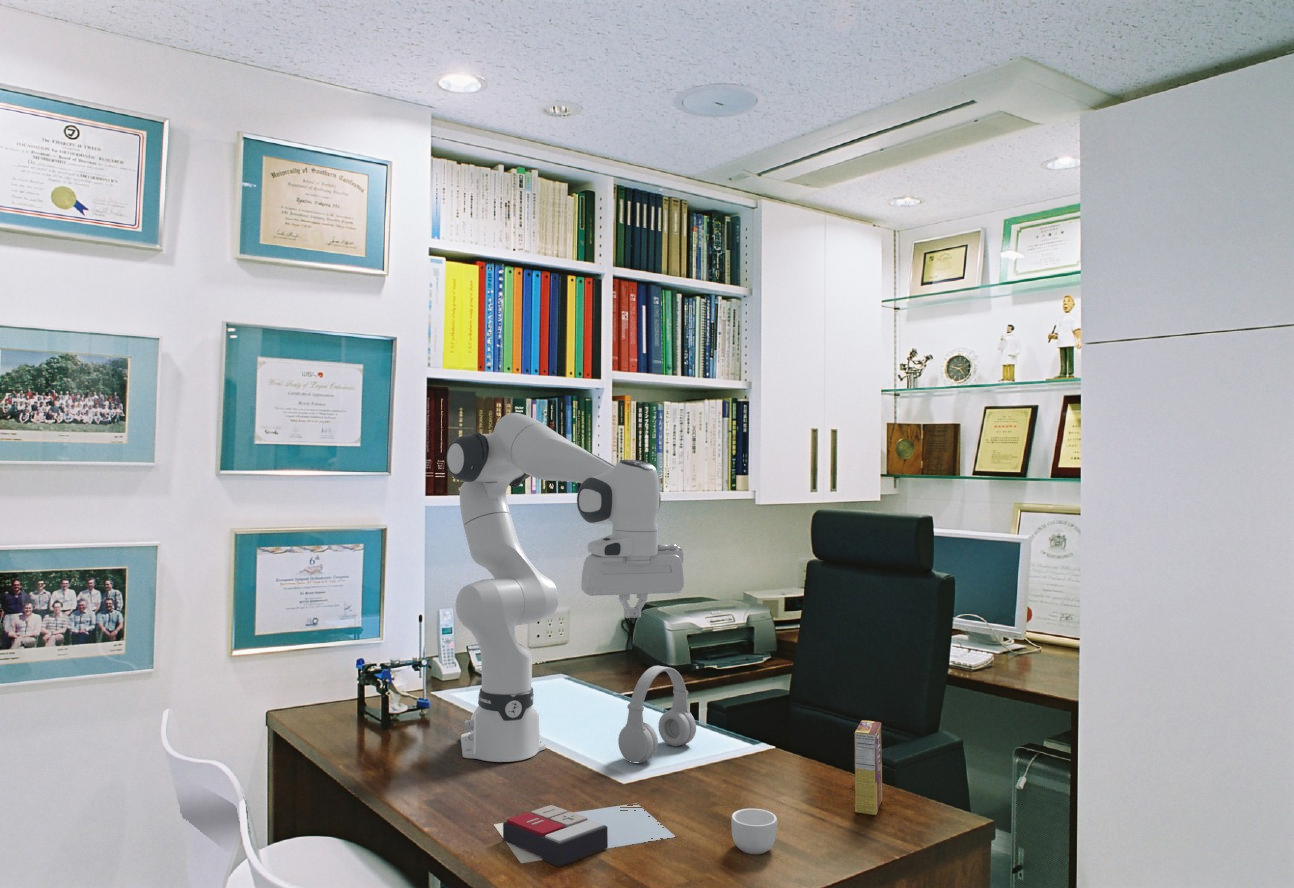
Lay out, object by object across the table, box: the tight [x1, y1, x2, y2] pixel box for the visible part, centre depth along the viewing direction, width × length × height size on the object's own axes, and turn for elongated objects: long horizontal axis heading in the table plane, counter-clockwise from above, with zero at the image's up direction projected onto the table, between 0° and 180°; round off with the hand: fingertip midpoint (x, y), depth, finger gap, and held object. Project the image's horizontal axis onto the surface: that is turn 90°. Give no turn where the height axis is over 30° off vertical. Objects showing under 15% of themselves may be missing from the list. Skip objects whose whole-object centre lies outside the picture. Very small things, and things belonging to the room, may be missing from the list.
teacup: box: [730, 808, 778, 855], centre depth 156 cm, size 10×8×5 cm
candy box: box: [854, 720, 883, 816], centre depth 176 cm, size 9×4×15 cm, turn 158°
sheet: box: [493, 802, 676, 864], centre depth 161 cm, size 17×28×1 cm, turn 115°
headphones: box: [617, 665, 697, 763], centre depth 206 cm, size 20×8×19 cm, turn 144°
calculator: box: [502, 804, 608, 867], centre depth 155 cm, size 11×4×15 cm
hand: (632, 617), depth 175 cm, fingers closed
